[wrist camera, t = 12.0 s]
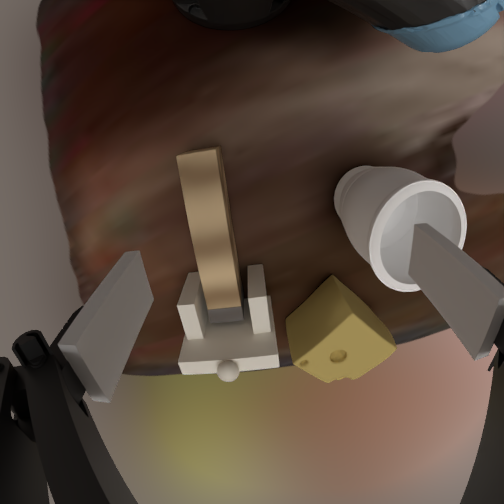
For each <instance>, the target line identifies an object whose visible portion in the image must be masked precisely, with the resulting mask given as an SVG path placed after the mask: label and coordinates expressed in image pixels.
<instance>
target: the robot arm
mask: <svg viewBox="0 0 504 504" xmlns="http://www.w3.org/2000/svg"><path fill="white" fill-rule="evenodd" d="M172 1H173V2H174V4H175V6H176V7H177V9H178V10H179V11H180V12H181V13H182V14H183V15H184V16H185V17H186V18H188V19H189V20H191V21H193V22H194V23H197V24H199V25H201V26H204V27H208V28H212V29H219V30H240V29H246V28H251V27H254V26H258V25H260V24H263V23H265V22H267V21H269V20H271V19H273V18H274V17H276V16H277V15H279V14H280V13H281V12H282V11H283V10H284V9H285V8H286V7H287V5H288V4H289V2H290V1H291V0H172ZM328 1H330V2H332V3H334V4H336V5H338V6H340V7H341V8H343V9H345V10H347V11H349V12H351V13H353V14H354V15H356V16H358V17H360V18H361V19H363V20H365V21H367V22H368V23H370V24H371V25H372V26H373V27H374V28H375V29H377V30H378V31H381V32H384V33H388V34H389V35H391V36H393V37H394V38H396V39H398V40H399V41H401V42H402V43H404V44H406V45H407V46H409V47H411V48H413V49H415V50H418V51H421V52H434V53H439V52H446V51H450V50H454V49H457V48H460V47H462V46H464V45H466V44H468V43H470V42H472V41H474V40H476V39H477V38H479V37H480V36H482V35H483V34H484V33H486V32H487V31H488V30H489V29H490V28H491V27H492V26H493V25H494V24H495V23H496V22H497V20H498V19H499V17H500V16H499V13H498V12H500V11H503V10H504V0H328ZM408 274H409V276H410V277H411V278H412V279H413V280H414V282H415V283H416V284H417V285H418V286H419V288H420V289H421V290H422V291H423V293H424V294H425V295H426V296H427V297H428V299H429V300H430V301H431V303H432V304H433V305H434V306H435V308H436V309H437V310H438V311H439V313H440V314H441V315H442V317H443V318H444V319H445V321H446V322H447V323H448V325H449V326H450V327H451V329H452V330H453V331H454V333H455V334H456V335H457V337H458V338H459V339H460V341H461V342H462V344H463V345H464V346H465V348H466V349H467V351H468V352H469V353H470V355H471V356H472V358H473V359H474V360H478V359H480V358H483V357H486V356H488V355H489V353H490V351H491V348H492V346H493V344H495V345H496V346H497V348H498V350H497V352H496V354H495V356H494V358H493V360H492V362H491V364H490V366H489V368H488V371H490V370H491V368H492V367H493V366H494V370H493V379H492V386H491V393H490V399H489V405H488V410H487V415H486V420H485V425H484V429H483V434H482V438H481V442H480V445H479V449H478V453H477V457H476V460H475V463H474V466H473V469H472V473H471V475H470V478H469V481H468V485H467V487H466V490H465V492H464V495H463V497H462V500H461V503H460V504H504V283H503V282H501V281H500V280H499V279H498V278H497V277H495V275H494V274H492V273H491V272H490V271H489V270H488V269H486V268H484V267H482V266H480V265H479V264H478V263H477V262H476V261H474V260H473V259H472V258H471V257H470V256H468V255H467V254H466V253H465V252H464V251H462V250H461V249H460V248H459V247H457V246H456V245H455V244H454V243H452V242H451V241H450V240H449V239H447V238H446V237H445V236H443V235H442V234H441V233H439V232H438V231H437V230H436V229H434V228H433V227H432V226H430V225H429V224H427V223H420V224H414V231H413V241H412V249H411V257H410V264H409V271H408ZM153 300H154V299H153V295H152V292H151V289H150V286H149V282H148V279H147V276H146V272H145V269H144V265H143V262H142V258H141V254H140V251H131V252H125V253H124V254H123V256H122V257H121V258H120V259H119V261H118V262H117V263H116V264H115V266H114V267H113V268H112V269H111V271H110V272H109V273H108V275H107V276H106V277H105V279H104V280H103V281H102V282H101V284H100V285H99V286H98V288H97V289H96V290H95V292H94V293H93V294H92V296H91V297H90V298H89V300H88V301H87V303H86V304H85V305H84V306H81V307H80V308H79V309H78V310H77V311H75V312H74V313H73V314H72V316H71V317H70V318H69V320H68V323H66V324H65V325H64V327H63V329H62V330H61V331H60V333H59V334H58V336H57V337H56V338H55V340H54V341H53V343H52V344H51V346H50V347H49V345H48V344H47V342H46V340H45V338H44V336H43V334H42V333H41V331H38V330H31V331H28V332H25V333H24V334H22V335H21V336H19V337H18V338H17V339H16V340H15V342H14V343H13V346H12V350H13V352H14V354H15V355H16V357H17V358H18V360H19V361H20V363H21V365H22V366H17V367H13V366H12V364H11V362H10V361H9V359H8V358H6V357H0V504H49V496H48V488H47V482H48V485H49V488H50V491H51V494H52V497H53V499H54V502H55V504H138V503H137V501H136V500H135V498H134V497H133V495H132V493H131V492H130V490H129V488H128V487H127V485H126V484H125V482H124V480H123V478H122V476H121V475H120V473H119V471H118V469H117V468H116V466H115V464H114V462H113V460H112V458H111V456H110V454H109V452H108V450H107V448H106V446H105V445H104V442H103V440H102V438H101V436H100V434H99V432H98V430H97V428H96V425H95V423H94V421H93V419H92V416H91V414H90V411H89V409H88V407H87V404H86V402H85V401H84V400H83V398H82V397H83V395H84V393H85V391H87V393H88V394H89V396H90V397H91V399H92V400H93V401H100V402H108V403H110V402H111V399H112V397H113V394H114V391H115V389H116V386H117V384H118V381H119V379H120V376H121V374H122V371H123V369H124V367H125V364H126V362H127V359H128V357H129V355H130V352H131V350H132V347H133V345H134V343H135V340H136V338H137V336H138V334H139V331H140V329H141V327H142V325H143V322H144V320H145V318H146V316H147V313H148V311H149V309H150V307H151V305H152V302H153ZM11 411H12V412H13V413H14V419H12V417H11Z"/></svg>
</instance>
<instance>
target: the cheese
mask: <svg viewBox="0 0 504 504" xmlns="http://www.w3.org/2000/svg"><path fill="white" fill-rule="evenodd" d="M286 331H287V336H288V341H289V347H290V352H291V357H292V361H293V364H294V365H296V366H297V367H299V368H301V369H302V370H305V371H306V372H307V373H309V374H311V375H313V376H315V377H316V378H318V379H320V380H322V381H324V382H326V383H330V382H331V381H333V380H335V379H336V380H341V379H342V378H345V377H347V378H350V379H352V380H353V379H357V378H359V377H360V376H362V375H363V374H365V373H366V372H368V371H369V370H371V369H372V368H374V367H375V366H377V365H378V364H380V363H381V362H383V361H384V360H385V359H387V358H388V357H389V356H390V355H391V354H392V353H393V352H394V351H395V350H396V349H397V347H396V344H395V341H394V339H393V337H392V335H391V333H390V332H389V330H388V329H387V327H386V326H385V325H384V324H383V323H382V322H381V320H380V319H379V318H378V317H377V316H376V315H375V314H374V313H373V312H372V310H371V309H370V308H369V307H368V306H367V305H366V304H365V303H364V302H363V301H362V300H361V299H360V298H359V297H358V296H357V295H355V294H354V293H353V292H352V291H351V290H350V289H349V288H347V287H346V286H345V285H344V284H343V283H341V282H340V281H339V280H338V279H337V278H336V277H335V276H334V275H331V276H330V277H329V278H328V279H327V280H325V281H324V282H323V283H322V284H321V285H320V286H319V287H318V288H317V289H316V290H315V291H314V292H313V293H312V295H311V296H310V297H309V298H308V299H307V300H306V301H305V302H304V303H302V304H301V305H300V306H299V307H298V308H297V309H296V310H295V311H294V312H292V313H291V314H290V315H289V316H288V317H287V318H286Z"/></svg>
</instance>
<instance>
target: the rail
mask: <svg viewBox="0 0 504 504" xmlns="http://www.w3.org/2000/svg"><path fill="white" fill-rule="evenodd" d="M176 158H177V164H178V169H179V175H180V181H181V186H182V192H183V197H184V202H185V208H186V213H187V218H188V223H189V228H190V233H191V237H192V242H193V247H194V252H195V256H196V261H197V265H198V270H199V274H200V279H201V283H202V288H203V292H204V296H205V300H206V304H207V311H208V315H209V319H210V323H221V322H232V321H241V320H244V291H243V285H242V281H241V275H240V269H239V263H238V256H237V250H236V244H235V237H234V231H233V225H232V218H231V212H230V205H229V199H228V192H227V185H226V179H225V172H224V165H223V158H222V151H221V146H215V147H209V148H203V149H197V150H191V151H187V152H184V153H182V154H180V155H177V156H176Z"/></svg>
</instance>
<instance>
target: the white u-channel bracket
mask: <svg viewBox="0 0 504 504" xmlns="http://www.w3.org/2000/svg"><path fill="white" fill-rule="evenodd" d="M177 307H178V311H179V314H180V317H181V321H182V324H183V327H184V330H185V337H184V341H183V345H182V349H181V353H180V357H179V361H178V364H179V366H180V369H181V371H182V374H183V375H188V374H209V373H217V374H218V376H219V378H220V379H221V380H223V381H226V382H231V381H234V380H235V379H236V378H237V377H238V375H239V371H248V370H258V369H267V368H276V367H279V358H278V350H277V342H276V335H275V327H274V320H273V312H272V305H271V297H270V296H267V295H266V286H265V278H264V270H263V264H258V265H250V266H248V298H247V299H244V320H241V321H232V322H221V323H210V319H209V315H208V311H207V304H206V300H205V296H204V292H203V288H202V283H201V279H200V274H199V272H192V273H188V276H187V279H186V281H185V284H184V287H183V290H182V293H181V296H180V298H179V301H178V304H177Z"/></svg>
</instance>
